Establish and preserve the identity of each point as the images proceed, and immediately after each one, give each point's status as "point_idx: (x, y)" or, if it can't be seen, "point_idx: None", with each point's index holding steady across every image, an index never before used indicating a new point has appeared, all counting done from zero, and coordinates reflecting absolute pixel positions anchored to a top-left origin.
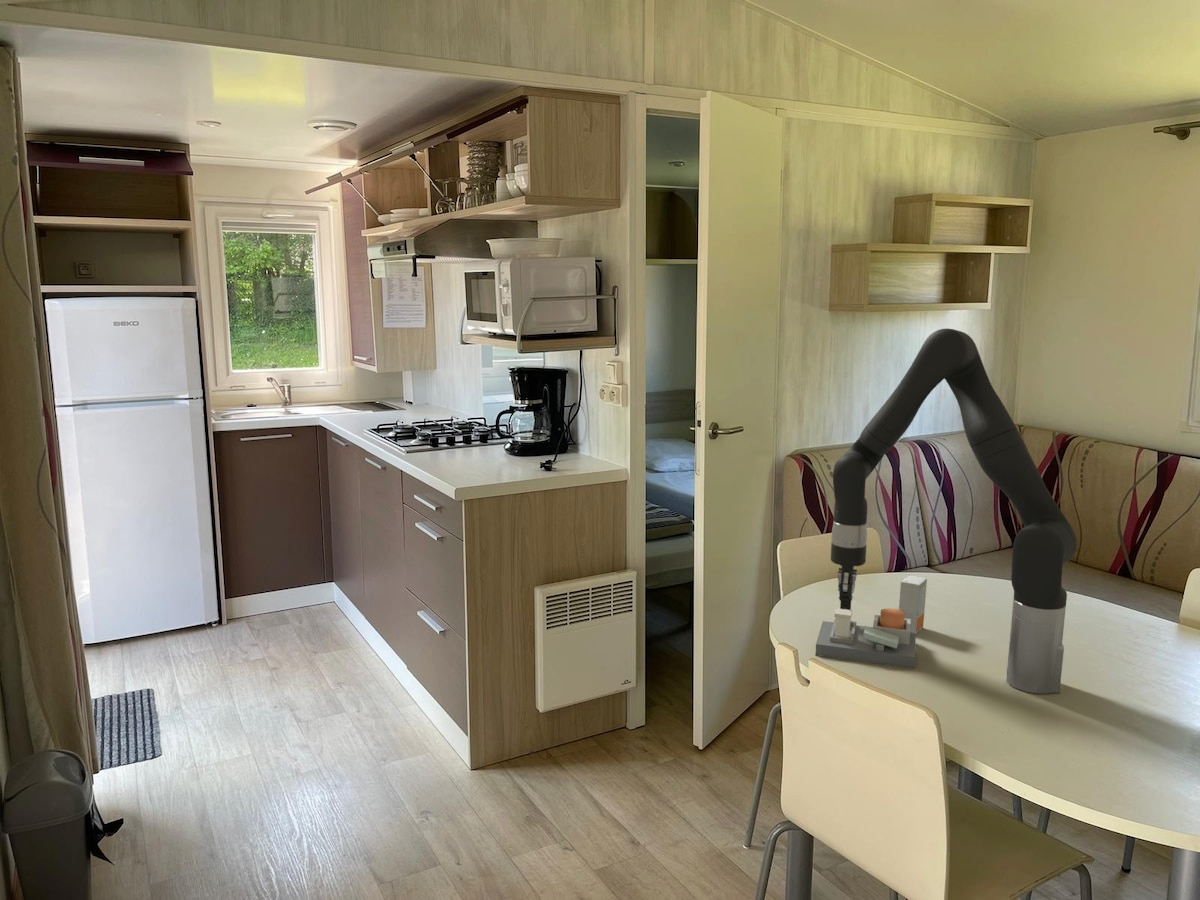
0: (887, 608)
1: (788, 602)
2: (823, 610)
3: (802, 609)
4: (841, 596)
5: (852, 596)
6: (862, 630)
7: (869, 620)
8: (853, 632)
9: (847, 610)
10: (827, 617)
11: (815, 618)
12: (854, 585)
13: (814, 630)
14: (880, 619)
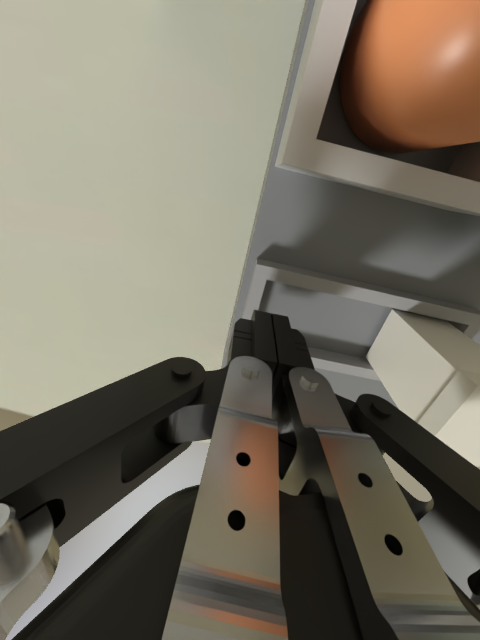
0: (424, 16)
1: (4, 406)
2: (20, 322)
3: (45, 380)
4: (411, 495)
5: (257, 370)
6: (315, 238)
7: (45, 145)
8: (400, 301)
9: (473, 410)
10: (85, 318)
11: (110, 355)
12: (358, 494)
13: (218, 369)
14: (457, 144)
